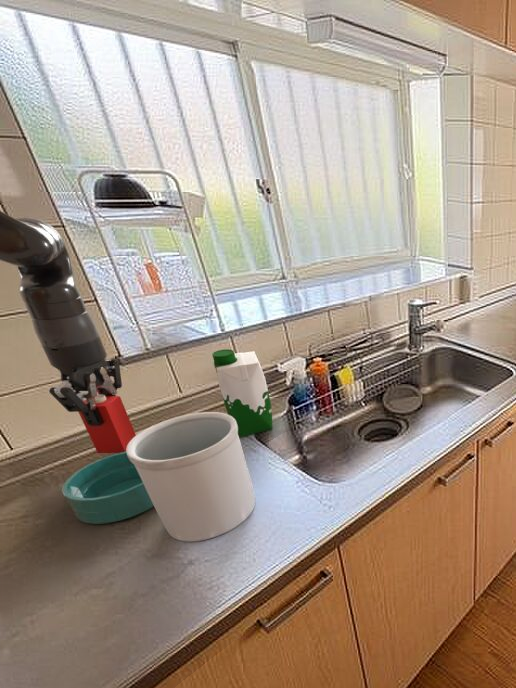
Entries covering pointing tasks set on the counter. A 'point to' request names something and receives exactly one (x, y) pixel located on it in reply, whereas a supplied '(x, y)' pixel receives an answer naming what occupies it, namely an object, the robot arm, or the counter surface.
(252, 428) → the milk carton
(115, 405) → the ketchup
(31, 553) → the counter surface
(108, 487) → the teal bowl
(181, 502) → the utensil holder
